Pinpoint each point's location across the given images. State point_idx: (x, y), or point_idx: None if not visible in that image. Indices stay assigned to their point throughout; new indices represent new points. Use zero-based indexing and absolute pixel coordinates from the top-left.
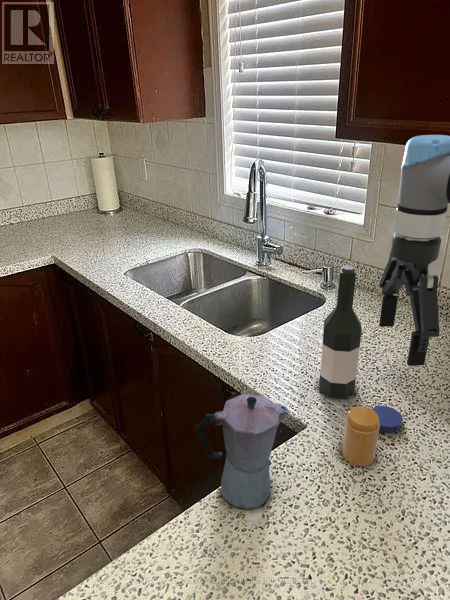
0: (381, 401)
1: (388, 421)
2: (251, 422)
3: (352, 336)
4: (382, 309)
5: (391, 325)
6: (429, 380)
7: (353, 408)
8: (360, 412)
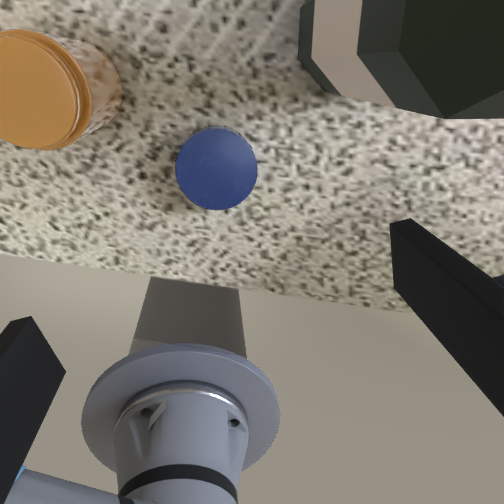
0: (297, 166)
1: (196, 175)
2: None
3: (397, 60)
4: (461, 278)
5: (395, 279)
6: (382, 281)
7: (48, 58)
8: (35, 84)
